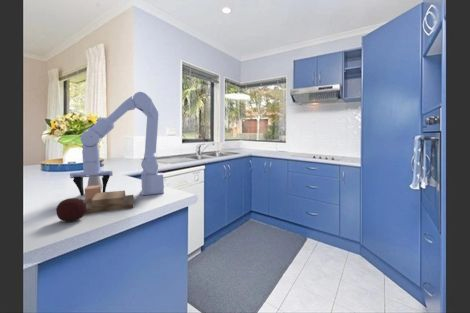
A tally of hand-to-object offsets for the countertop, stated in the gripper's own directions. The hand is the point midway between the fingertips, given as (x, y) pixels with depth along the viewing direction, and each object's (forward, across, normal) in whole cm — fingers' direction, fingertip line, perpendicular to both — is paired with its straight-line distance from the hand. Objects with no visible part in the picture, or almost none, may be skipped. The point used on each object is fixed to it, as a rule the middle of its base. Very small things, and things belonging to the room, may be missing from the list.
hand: (93, 194), depth 92 cm
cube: (+2, 0, 0) cm, 2 cm away
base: (+2, -7, +12) cm, 14 cm away
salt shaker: (+2, +1, -10) cm, 10 cm away
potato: (+2, +2, +23) cm, 24 cm away
